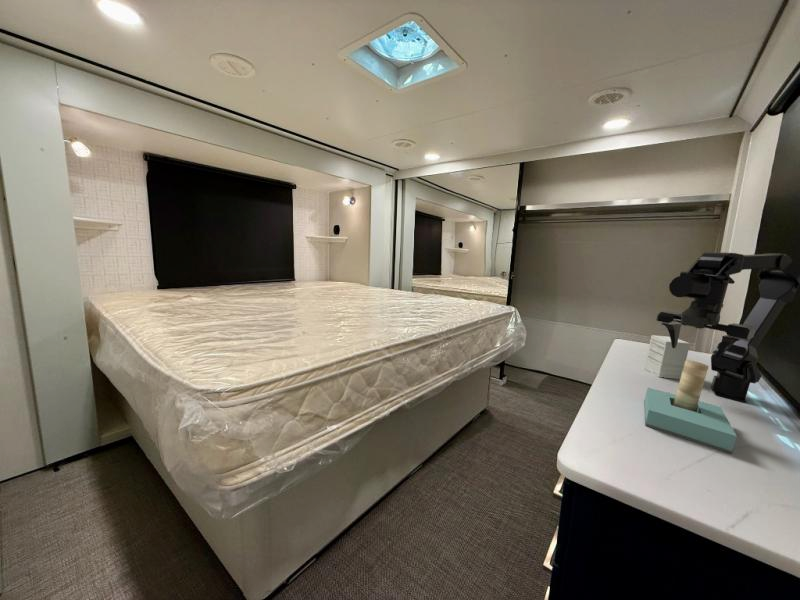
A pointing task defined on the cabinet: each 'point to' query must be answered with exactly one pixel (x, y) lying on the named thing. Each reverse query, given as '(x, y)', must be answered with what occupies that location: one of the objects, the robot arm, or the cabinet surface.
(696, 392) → the maple pin
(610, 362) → the cabinet surface
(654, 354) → the supplement box
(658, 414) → the pin block
